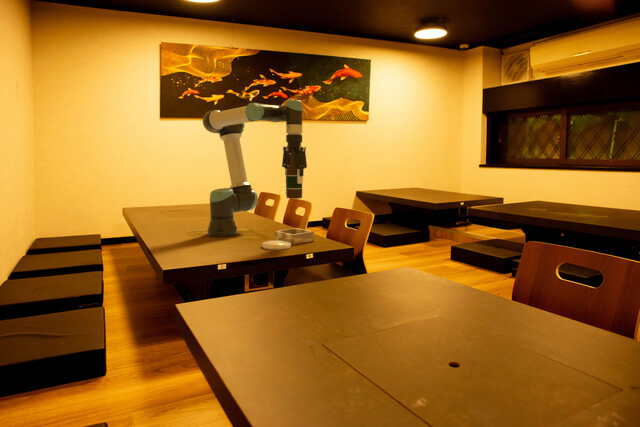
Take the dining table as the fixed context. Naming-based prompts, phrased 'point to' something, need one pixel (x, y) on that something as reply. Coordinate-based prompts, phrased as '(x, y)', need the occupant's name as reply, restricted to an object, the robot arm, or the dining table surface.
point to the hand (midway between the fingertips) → (294, 182)
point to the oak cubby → (294, 235)
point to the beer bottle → (293, 179)
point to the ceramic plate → (276, 245)
